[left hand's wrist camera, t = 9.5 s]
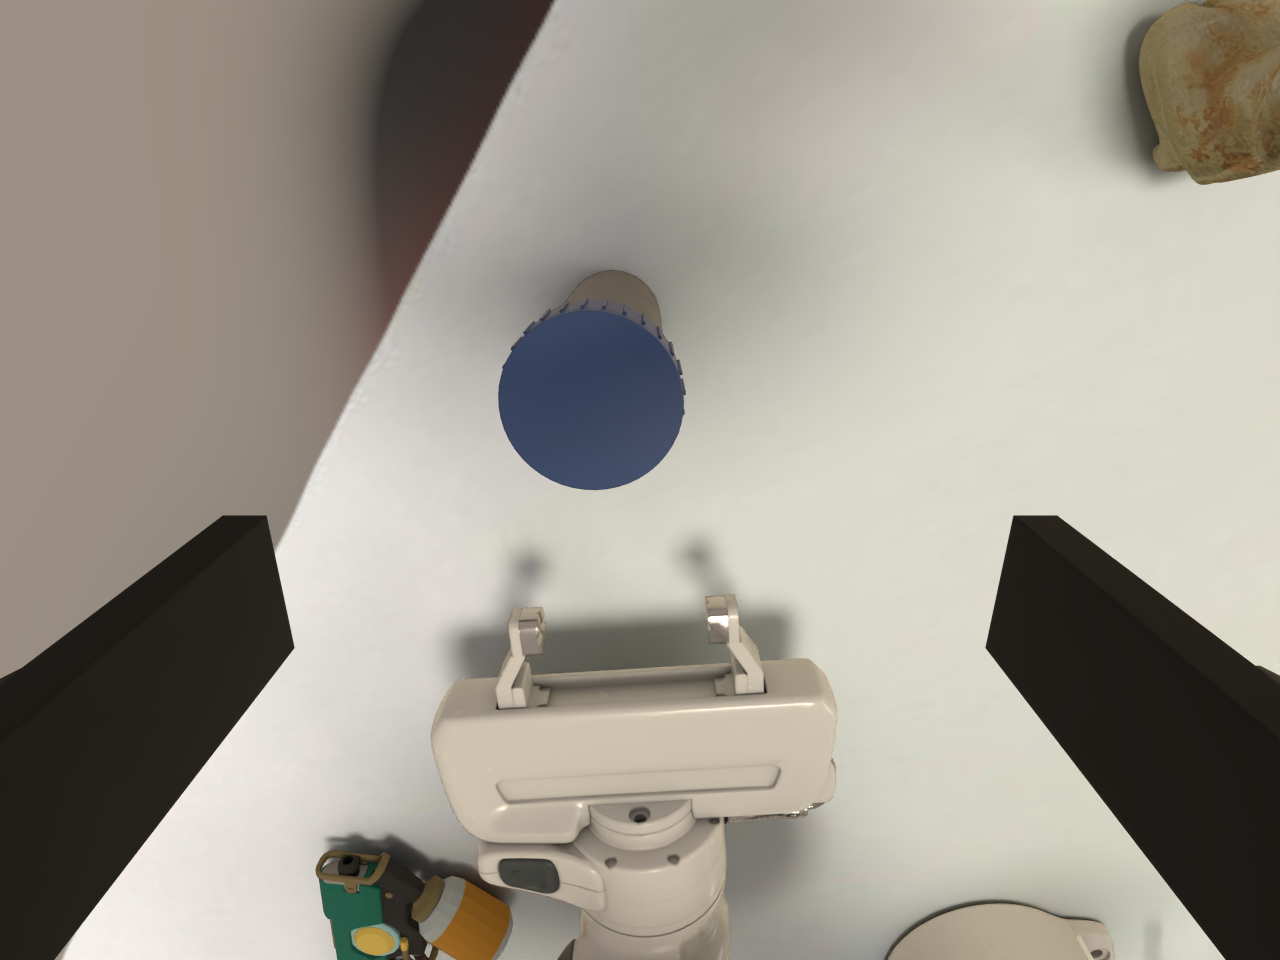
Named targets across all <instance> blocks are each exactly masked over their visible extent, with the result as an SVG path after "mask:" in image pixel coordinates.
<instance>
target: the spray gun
mask: <svg viewBox="0 0 1280 960" xmlns="http://www.w3.org/2000/svg"><path fill="white" fill-rule="evenodd" d="M332 857H337V858H341V860H340V861H339V862H338V861H334V862H331V863H329V864H327V865H325V866H324V867H323V865H324V863H325V862H326V860H327V859H329V858H332ZM367 861H372V862H370V863H369V865H368V866H367ZM375 862H380V863H379V864H378V865H377V864H376V863H375ZM322 867H323V868H322ZM316 875H317V877H318V878H319V883H320V890H321V896H322V903H323V910H324V913H325V916H326V917H327V918H328V919H330V922H331V929H332V935H333V942H334V948H335V949H336V953H337V960H390V959H391V958H394V957H398V956H401V955H402V956H403V960H413V959H411V958H410V956H409V954H410V955H414V957H415V960H435V959H436V957H437V955H438V950H439V949H440V950H442V951H443V952H445V953H447V954H448V955H450V956H452V957H453V958H455V959H456V960H496V959H498V957H499V956H500V954H501V953H502V951H503V950H504V948H505V946H506V944H507V942H508V939H509V937H510V934H511V932H512V925H513V921H512V913H511V910H510V907H509V906H508V905H506V904H505V903H503V902H501V901H500V900H498V899H496V898H495V897H493V896H491V895H490V894H488V893H486V892H485V891H483V890H481V889H480V888H478V887H476V886H475V885H473V884H471V883H470V882H468V881H467V880H465V879H462V878H459V877H455V876H450V877H448V878H445V879H442V878H440V877H438V876H434V877H432V878H430V879H429V880H428V881H427V882H425V883H423V882H422V880H421V879H419V878H418V877H416V876H415V875H414V874H412V873H411V872H409V871H408V870H407V869H405V868H404V867H402V866H401V865H400V864H398V863H397V862H395V861H394V860H393V859H390V856H389V855H388V854H387V853H385V852H383V853H381V854H380V855H379V856H377V855H368V854H360V853H352V852H343V851H335V850H334V851H328V852H327V853H325V854H324V855H323V856H322V857H321V858H320V860H319V862H318V864H317V866H316ZM412 901H413V907H412V908H411V902H412ZM427 943H430V944H432V945H433V947H432V951H431V954H430V957H429V958H428V957H427V956H426V955H425V953H424V952H425V949H426V946H427Z"/></svg>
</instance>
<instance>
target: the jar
mask: <svg viewBox="0 0 1280 960" xmlns="http://www.w3.org/2000/svg"><path fill="white" fill-rule="evenodd" d="M584 298H588V300H605V298H607V299H608V301H610V302H615V303H618V304H622V305H625V303H626V304H628V307H629V308H631V309H634V310H636V311H637V312H639V313H640V314H643V313H645V314H646V318H648V319H649V320H650V321H651V322H652V323H654V324H655V325H656V326H657V327H658V326H660V327H661V331H662V325H661V317H660V311H659V306H658V303H657V300H656V298H655V296H654V294H653V293H652V291H651V290H650V289H649V287H648V286H647V285H646V284H645V283H644V282H643V281H641V280H640V279H638V278H637V277H635V276H633V275H631V274H629V273H626V272H621V271H603V272H599V273H596V274H594V275H592V276H590V277H588V278H586V279H585V280H584V281H582V282H581V283H580V284H579V285H578V286H577V288H576V289H575V290H574V291H573V293H572V294H571V295H570V297H569V298H568V299H567V301H568V302H569V303H573V302H577V301H583V300H584ZM567 301H566V302H567ZM662 333H663V332H662Z"/></svg>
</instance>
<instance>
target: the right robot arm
mask: <svg viewBox="0 0 1280 960" xmlns="http://www.w3.org/2000/svg"><path fill="white" fill-rule="evenodd" d="M705 607H706V625H707V631H708V639H709V644H718V643H726V645H727V646H728V647H729V649H730V650H731V651H730V661H731V663H717V664H701V665H685V666H669V667H652V668H636V669H620V670H604V671H588V672H572V673H556V674H540V675H532V674H531V669H530V664H529V663H528V662H523V661H524V659H525V657H526V656H529V655H540V654H542V653H543V649H544V642H545V640H546V636H547V630H546V623H545V622H544V621H543V618H544V610H543V607H531V608H515V609H512V612H511V615H510V619H509V625H508V632H509V638H510V644H511V648H510V650H509V652H508V654H507V656H506V658H505V660H504V662H503V665H502V668H501V671H500V674H499V677H490V678H473V679H461V680H458V681H456V682H455V683H454V684H453V685H452V686H451V687H450V689H449V690H448V692H447V693H446V694H445V696H444V698H443V699H442V701H441V703H440V705H439V707H438V709H437V712H436V715H435V718H434V721H433V725H432V729H431V745H432V750H433V754H434V758H435V762H436V766H437V769H438V772H439V776H440V779H441V782H442V784H443V787H444V790H445V793H446V795H447V798H448V801H449V803H450V805H451V808H452V810H453V812H454V814H455V816H456V818H457V820H458V821H459V823H460V824H461V825H462V826H463V828H464V829H465V830H467V831H468V832H469V833H470V834H472V835H473V836H475V837H477V838H479V847H478V856H477V867H478V872H479V874H480V876H481V878H482V879H483V880H484V881H486V882H487V883H490V884H493V885H496V886H501V887H507V888H512V889H518V890H523V891H528V892H532V893H537V894H541V895H545V896H548V897H552V898H555V899H558V900H562V901H565V902H567V903H570V904H572V905H575V906H578V907H580V908H581V914H580V938H579V939H577V940H575V939H573V940H572V941H571V942H570V943H569V944H568V946H567V947H566V948H565V949H564V951H563V952H562V953H561V955H560V956H559V958H558V960H729V954H730V927H729V912H728V906H727V902H726V899H725V896H724V893H723V890H724V886H725V881H726V872H727V862H726V842H725V824H726V822H743V821H756V820H760V819H761V820H762V819H768V818H774V817H776V818H779V817H783V818H784V819H796V818H801V817H805V816H807V815H808V810H811V809H815V808H817V807H819V806H821V805H823V804H824V803H825V802H829V801H830V800H831V799H832V797H833V795H834V791H835V774H836V766H835V762H834V760H833V758H832V754H833V749H834V743H835V736H836V728H837V706H836V702H835V698H834V695H833V692H832V689H831V686H830V684H829V682H828V679H827V677H826V676H825V674H824V673H823V672H822V671H821V670H820V669H819V668H818V667H817V666H816V665H815V664H814V663H813V662H812V661H811V660H809V659H805V658H796V659H781V660H765V661H760V657H759V653H758V649H757V646H756V645H755V644H754V642H753V641H752V640H751V639H750V637H749V636H748V635H747V633H746V632H745V631H744V629H743V628H742V627H741V626H740V624H739V615H738V607H737V602H736V598H735V595H719V596H705ZM888 960H1115V958H1114V950H1113V942H1112V939H1111V937H1110V935H1109V933H1108V931H1107V929H1106V927H1105V926H1104V925H1103V924H1102V923H1099V922H1095V921H1088V920H1072V919H1063V918H1059V917H1056V916H1053V915H1051V914H1049V913H1046V912H1044V911H1041V910H1038V909H1035V908H1031V907H1027V906H1022V905H1015V904H983V905H975V906H970V907H965V908H961V909H957V910H954V911H950V912H947V913H945V914H942V915H940V916H937V917H935V918H933V919H931V920H929V921H927V922H925V923H924V924H922V925H920V926H919V927H917V928H916V929H914V930H913V931H911V932H910V933H909V934H908V935H907V936H905V937H904V938H903V939H902V940H901V941H900V942H899V943H898V944H897V946H896V947H895V948H894V950H893V951H892V952H891V954H890V956H889V958H888Z"/></svg>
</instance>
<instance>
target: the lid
mask: <svg viewBox="0 0 1280 960" xmlns="http://www.w3.org/2000/svg"><path fill="white" fill-rule="evenodd" d="M523 333H524V334H525V335H524V336H523V337H520V338H519V339H518V341H517V342H516V343H515V344H514V345H513V346H512V348H511V350H512V352H511V354H510V356H509V357H508V359H507V361H506V363H505V364H504V365H503V367H502V368H503V371H502V375H501V379H500V384H499V393H498V398H499V411H500V417H501V420H502V424H503V427H504V430H505V432H506V434H507V436H508V439H509V441H510V442H511V444H512V445H513V447H514V449H515V450H516V451H517V453H518V454H519V455H520V456H521V458H522V459H523V460H524V461H525V462H526V463H527V464H528V465H529V466H531V467H532V468H533V469H534V470H536V471H537V472H538V473H540V474H541V475H543V476H545V477H546V478H548V479H550V480H552V481H554V482H557V483H559V484H562V485H565V486H568V487H572V488H578V489H584V490H602V489H610V488H615V487H619V486H622V485H625V484H628V483H630V482H632V481H635V480H637V479H639V478H640V477H642V476H643V475H645V474H647V473H648V472H649V471H651V470H652V469H653V468H654V467H655V466H656V465H658V464H659V462H660V461H661V460H662V459H663V458H664V457H665V456H666V454H667V453H668V451H669V450H670V449H671V447H672V445H673V443H674V441H675V439H676V437H677V435H678V433H679V429H680V426H681V422H682V417H683V415H684V413H685V411H684V396H683V395H686V391H685V387H684V382H683V379H681V377H680V375H682V370H681V365H680V361H679V360H676V357H675V354H674V349H673V344H672V342H668V340H667V339H666V338H665V336H664V335H663V333H662V331H661V327H660V326H658V327H657V326H656V325H655V324H654V323H652V322H651V321H650V320H649V319H648V318H646V314H645V313H643V314H640V313H639V312H637V311H636V310H634V309H631V308H629V307H628V304H626V303H625V305H622V304H618V303H615V302H610V301H608V299H607V298H605V300H588V298H584V300H583V301H577V302H573V303H569V302H568V301H567V302H565V303H564V304H563V305H562V306H561V307H558V308H556V309H555V310H553V311H550V309H549V310H547V311H546V312H545V314H544V315H543V316H542V317H541V318H540V319H539V320H538V321H537V322H536V323H535V322H534V321H533V322H532V323H531V324H530V326H529V327H528V328H527V329H526V330H525V331H524V332H523Z"/></svg>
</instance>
